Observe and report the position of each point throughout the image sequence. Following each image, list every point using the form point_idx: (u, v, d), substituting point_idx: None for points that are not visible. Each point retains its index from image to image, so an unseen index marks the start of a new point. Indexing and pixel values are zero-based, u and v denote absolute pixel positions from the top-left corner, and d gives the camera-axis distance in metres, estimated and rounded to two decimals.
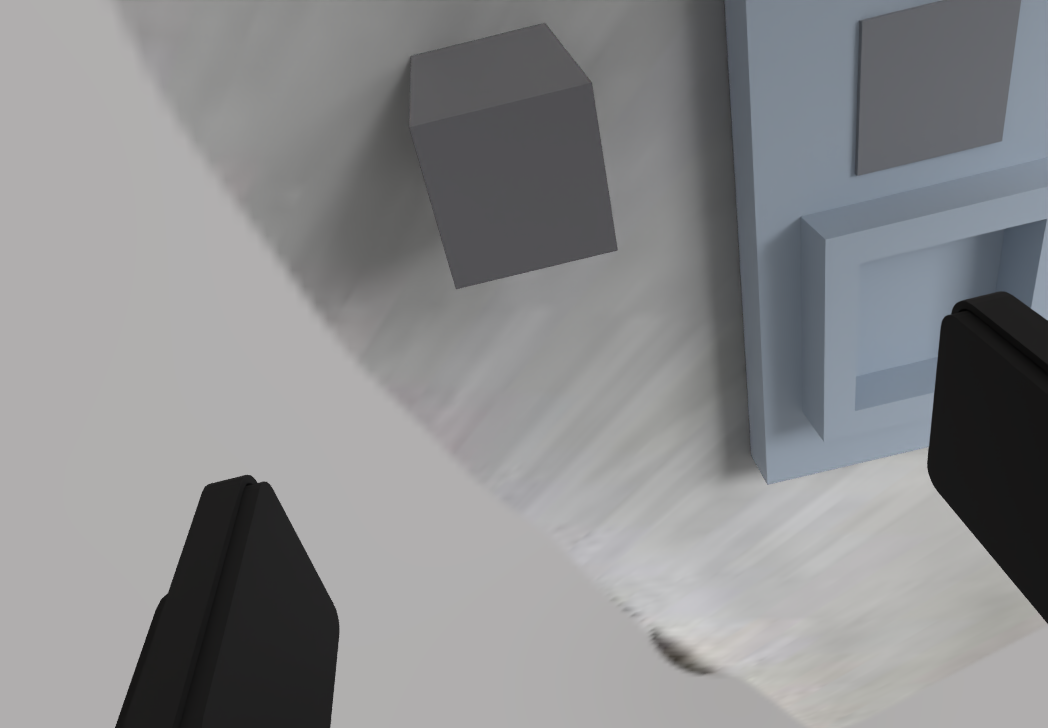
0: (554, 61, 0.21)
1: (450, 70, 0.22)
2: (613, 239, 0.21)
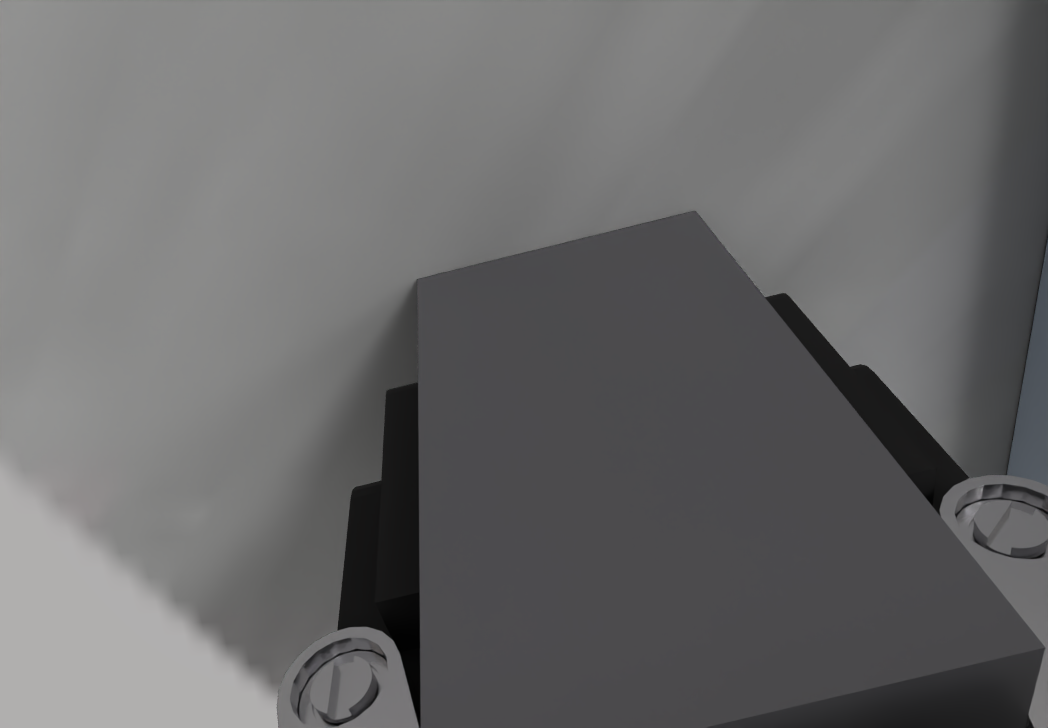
0: (806, 418, 0.08)
1: (514, 381, 0.09)
2: None
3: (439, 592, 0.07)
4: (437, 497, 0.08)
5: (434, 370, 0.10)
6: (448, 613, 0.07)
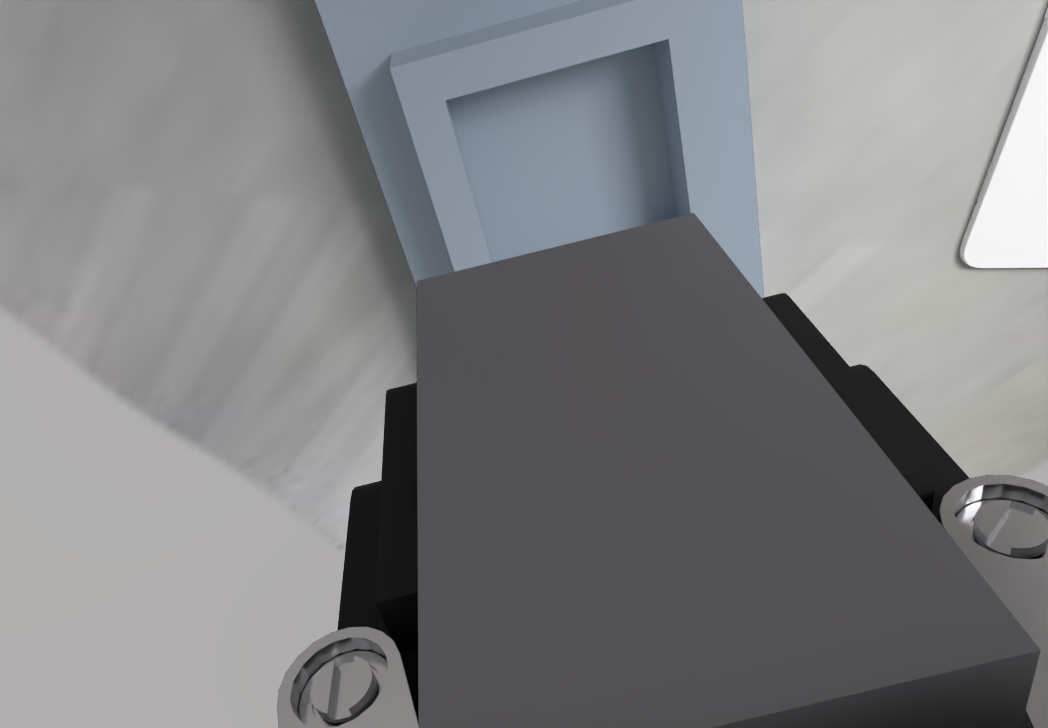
0: (803, 421, 0.08)
1: (512, 383, 0.09)
2: None
3: (437, 594, 0.07)
4: (436, 499, 0.08)
5: (433, 372, 0.10)
6: (446, 615, 0.07)
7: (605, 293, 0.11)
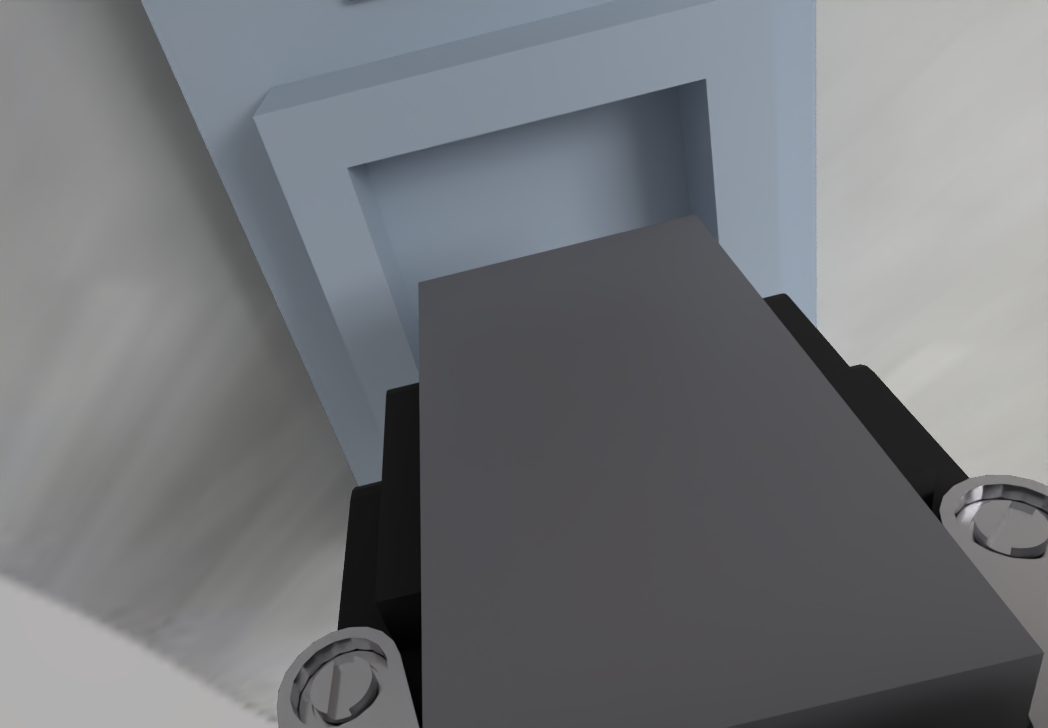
0: (806, 423, 0.08)
1: (515, 385, 0.09)
2: None
3: (441, 596, 0.07)
4: (438, 501, 0.08)
5: (435, 373, 0.10)
6: (450, 617, 0.07)
7: (607, 295, 0.11)
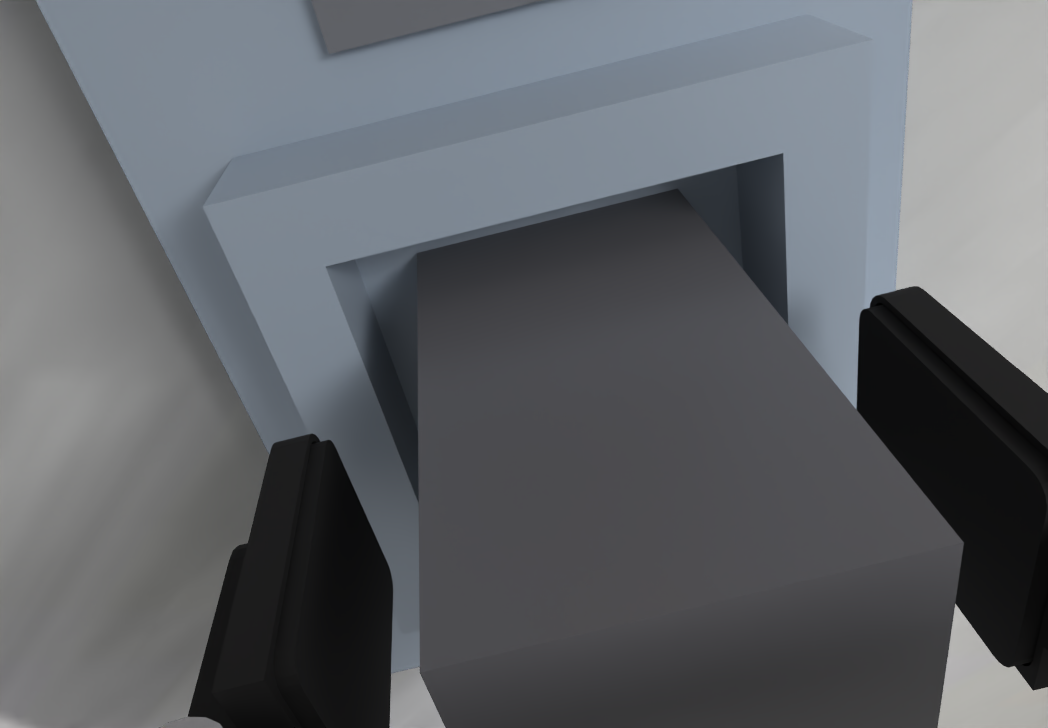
0: (769, 364, 0.09)
1: (506, 339, 0.10)
2: None
3: (436, 514, 0.08)
4: (435, 437, 0.09)
5: (432, 331, 0.11)
6: (444, 531, 0.07)
7: (593, 260, 0.11)
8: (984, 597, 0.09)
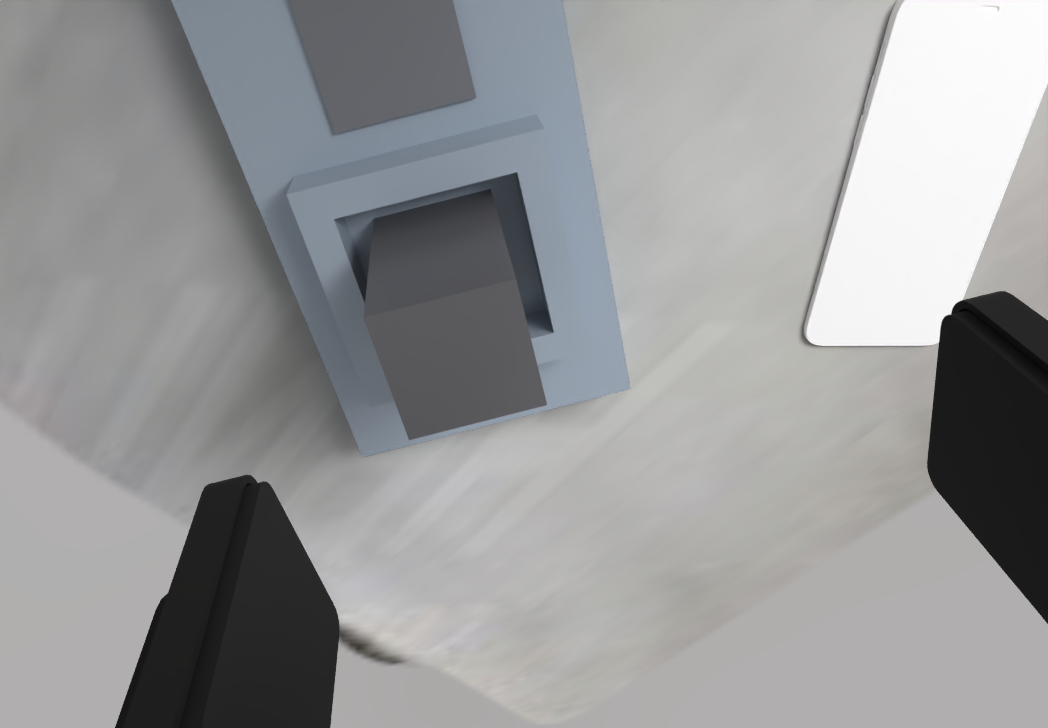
0: (490, 245, 0.24)
1: (404, 244, 0.26)
2: (543, 396, 0.24)
3: (372, 289, 0.23)
4: (374, 273, 0.24)
5: (377, 244, 0.26)
6: (374, 292, 0.23)
7: (445, 217, 0.27)
8: None
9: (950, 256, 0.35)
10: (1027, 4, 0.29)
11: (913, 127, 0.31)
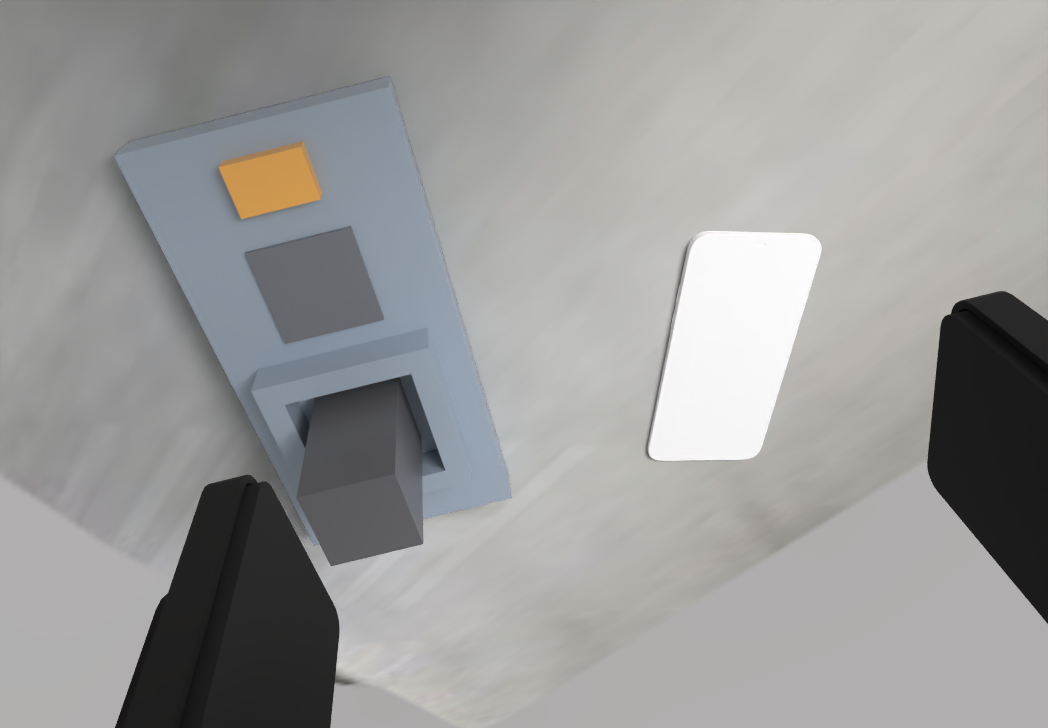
0: (386, 436, 0.36)
1: (331, 426, 0.38)
2: (419, 539, 0.36)
3: (304, 470, 0.35)
4: (308, 453, 0.36)
5: (314, 423, 0.38)
6: (305, 474, 0.35)
7: (363, 400, 0.39)
8: None
9: (753, 400, 0.47)
10: (786, 241, 0.41)
11: (712, 318, 0.43)
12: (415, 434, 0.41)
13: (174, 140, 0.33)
